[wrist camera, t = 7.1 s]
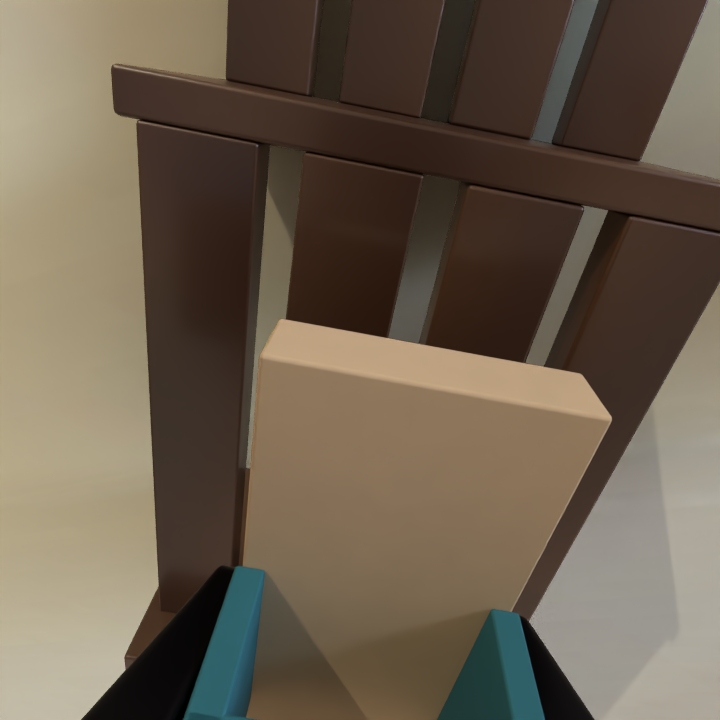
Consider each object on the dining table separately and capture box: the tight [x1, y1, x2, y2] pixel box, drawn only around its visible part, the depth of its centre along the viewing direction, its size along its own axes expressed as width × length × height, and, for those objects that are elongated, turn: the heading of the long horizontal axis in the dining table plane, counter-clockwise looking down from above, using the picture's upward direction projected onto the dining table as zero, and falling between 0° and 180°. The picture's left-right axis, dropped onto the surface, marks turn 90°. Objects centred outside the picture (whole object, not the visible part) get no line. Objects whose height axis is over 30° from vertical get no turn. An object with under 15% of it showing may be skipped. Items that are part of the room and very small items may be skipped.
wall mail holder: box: [183, 319, 612, 720], centre depth 8 cm, size 5×10×4 cm, turn 170°
